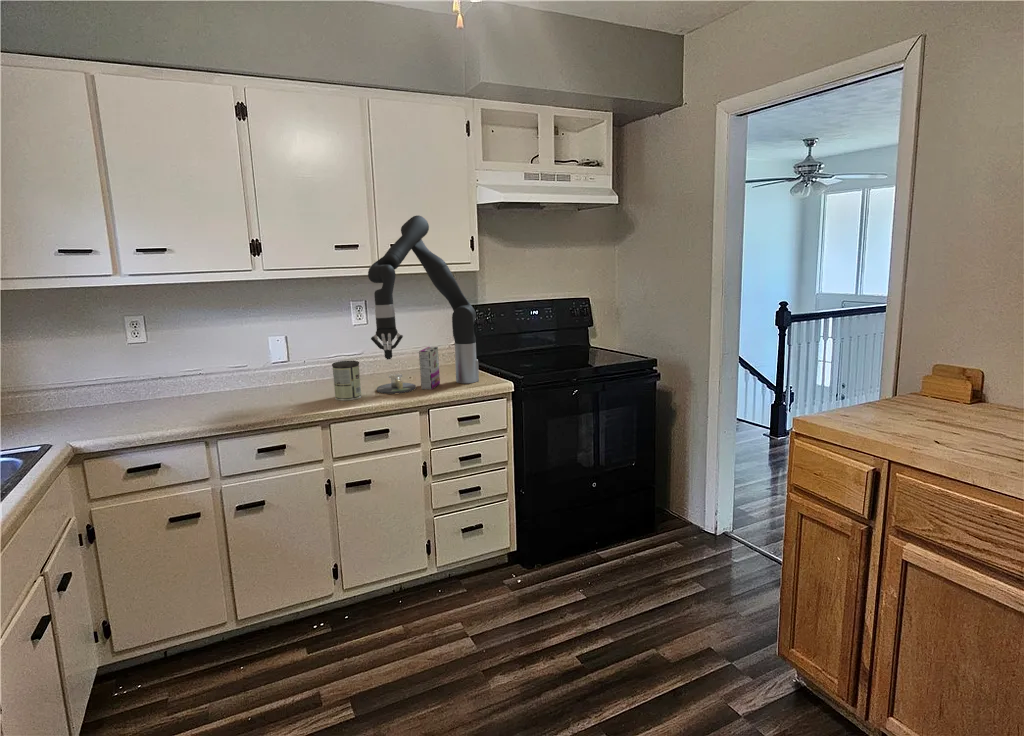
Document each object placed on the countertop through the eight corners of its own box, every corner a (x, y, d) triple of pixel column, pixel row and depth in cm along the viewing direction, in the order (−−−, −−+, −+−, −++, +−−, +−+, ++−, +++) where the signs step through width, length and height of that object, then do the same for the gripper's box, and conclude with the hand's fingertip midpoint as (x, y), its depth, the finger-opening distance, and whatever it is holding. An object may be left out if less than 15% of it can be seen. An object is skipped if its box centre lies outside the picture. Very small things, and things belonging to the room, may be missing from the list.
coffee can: (336, 395, 239) (333, 361, 236) (362, 393, 241) (360, 359, 238) (333, 401, 229) (330, 366, 226) (360, 400, 231) (357, 364, 228)
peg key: (389, 386, 248) (388, 374, 247) (401, 384, 250) (400, 372, 249) (395, 392, 236) (394, 379, 235) (408, 391, 238) (407, 378, 237)
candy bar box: (429, 383, 257) (427, 346, 253) (440, 383, 256) (438, 346, 252) (420, 389, 246) (418, 350, 243) (431, 389, 245) (429, 351, 242)
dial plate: (409, 383, 258) (409, 380, 257) (420, 390, 244) (420, 388, 243) (372, 387, 251) (372, 385, 250) (382, 395, 237) (382, 393, 236)
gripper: (366, 317, 229) (370, 361, 232) (400, 316, 229) (404, 359, 233) (370, 315, 236) (373, 358, 239) (403, 314, 237) (406, 356, 240)
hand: (388, 359), depth 236 cm, fingers closed
